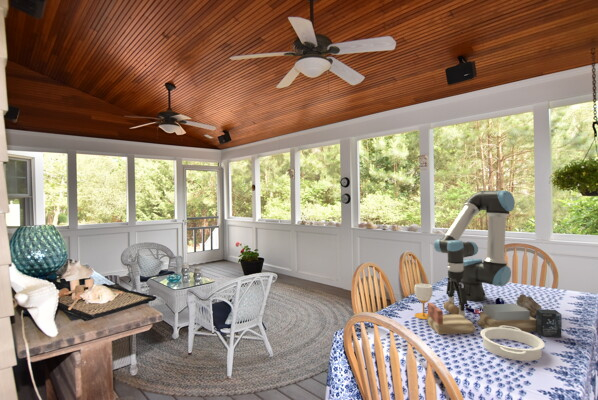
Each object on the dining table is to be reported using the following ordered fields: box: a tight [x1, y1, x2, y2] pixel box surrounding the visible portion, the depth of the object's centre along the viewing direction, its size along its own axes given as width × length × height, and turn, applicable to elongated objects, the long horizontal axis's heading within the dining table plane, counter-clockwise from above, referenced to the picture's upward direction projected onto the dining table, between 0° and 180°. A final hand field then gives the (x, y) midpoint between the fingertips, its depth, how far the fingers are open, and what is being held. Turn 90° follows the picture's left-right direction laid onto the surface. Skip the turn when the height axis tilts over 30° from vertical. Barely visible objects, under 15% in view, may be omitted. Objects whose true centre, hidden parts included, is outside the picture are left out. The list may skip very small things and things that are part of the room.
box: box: [535, 308, 563, 338], centre depth 152 cm, size 8×6×11 cm
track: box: [427, 302, 536, 335], centre depth 161 cm, size 12×46×10 cm, turn 92°
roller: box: [443, 300, 459, 314], centre depth 177 cm, size 10×5×5 cm
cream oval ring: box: [480, 325, 546, 362], centre depth 139 cm, size 29×22×5 cm
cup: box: [414, 283, 434, 321], centre depth 176 cm, size 9×9×16 cm
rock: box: [516, 293, 542, 318], centre depth 176 cm, size 9×12×10 cm
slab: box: [482, 303, 530, 321], centre depth 161 cm, size 10×16×4 cm, turn 92°
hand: (456, 312), depth 177 cm, fingers closed on roller, 10 cm apart
